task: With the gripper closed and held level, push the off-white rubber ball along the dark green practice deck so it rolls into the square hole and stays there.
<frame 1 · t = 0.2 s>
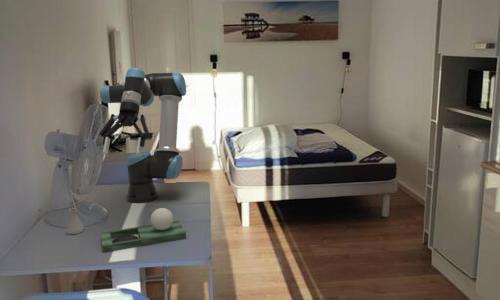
hand: (121, 154, 186), 35 cm above the table, tool tilted 35°, fingers open, 13 cm apart
deck: (143, 238, 193), on the table
ball: (161, 219, 194), point 7 cm above the table, touching deck
flask: (75, 232, 202), on the table
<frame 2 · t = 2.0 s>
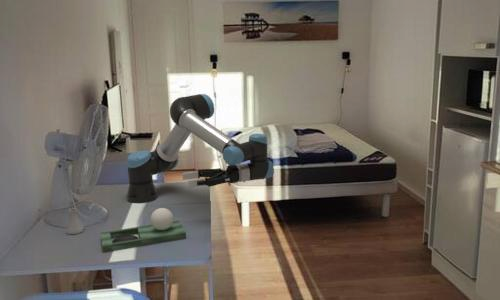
hand: (185, 180, 193), 22 cm above the table, tool horizontal, fingers open, 10 cm apart
nothing on the table moved.
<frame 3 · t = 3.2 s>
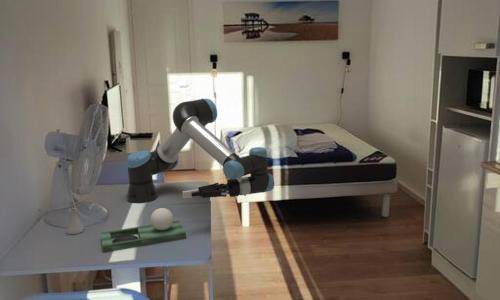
hand: (183, 195, 194), 16 cm above the table, tool horizontal, fingers closed
nothing on the table moved.
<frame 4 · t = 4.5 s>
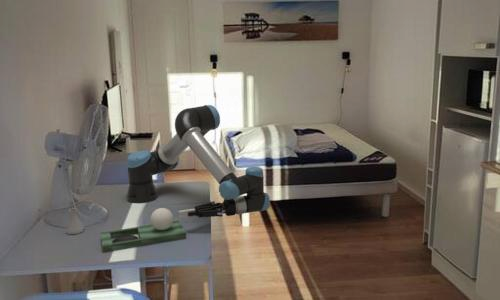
hand: (179, 214, 195), 8 cm above the table, tool horizontal, fingers closed
nothing on the table moved.
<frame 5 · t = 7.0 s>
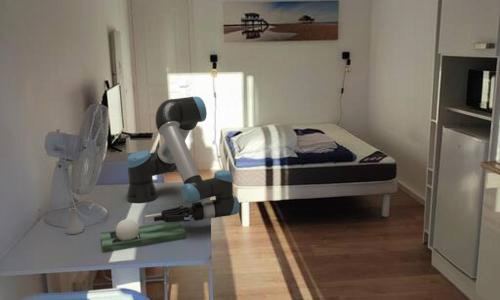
hand: (145, 219, 191), 8 cm above the table, tool horizontal, fingers closed
ball: (127, 230, 188), point 5 cm above the table, tilted 170°, touching deck
everything else where it was.
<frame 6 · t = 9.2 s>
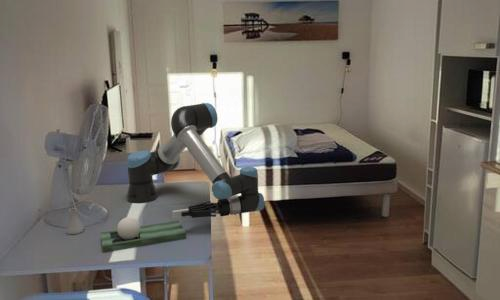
hand: (172, 214, 195), 8 cm above the table, tool horizontal, fingers closed
ball: (128, 228, 190), point 5 cm above the table, tilted 155°, touching deck
everything else where it was.
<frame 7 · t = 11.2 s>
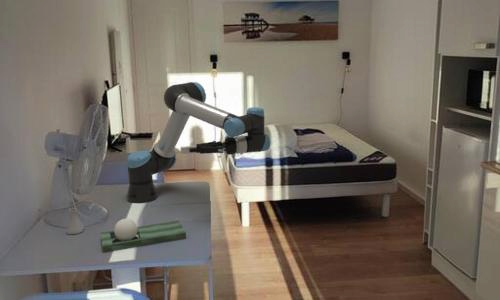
hand: (181, 150, 200), 32 cm above the table, tool horizontal, fingers closed
ball: (125, 230, 189), point 5 cm above the table, tilted 158°, touching deck
everything else where it was.
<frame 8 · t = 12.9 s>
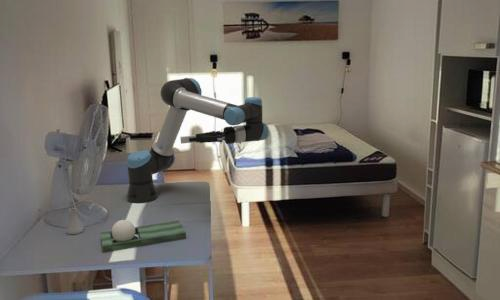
hand: (181, 140, 203), 36 cm above the table, tool horizontal, fingers closed
ball: (123, 231, 188), point 5 cm above the table, tilted 148°, touching deck
everything else where it was.
at the end: ball 1.7 cm from the target spot on the deck, point 5.0 cm above the deck's base; the gripper is holding nothing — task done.
